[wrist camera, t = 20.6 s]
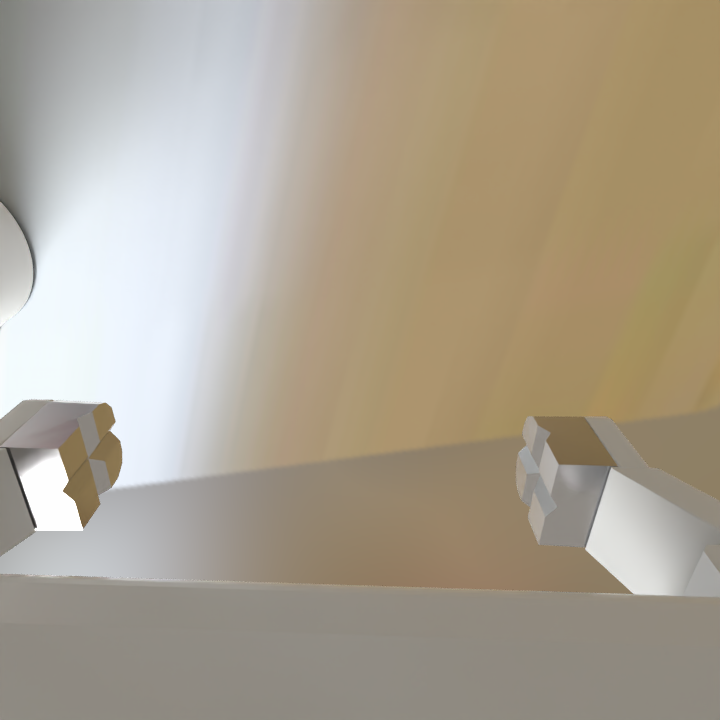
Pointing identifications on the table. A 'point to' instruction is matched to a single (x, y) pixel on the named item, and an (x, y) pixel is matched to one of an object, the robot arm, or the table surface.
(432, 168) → the table surface
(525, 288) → the table surface
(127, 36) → the table surface
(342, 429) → the table surface
